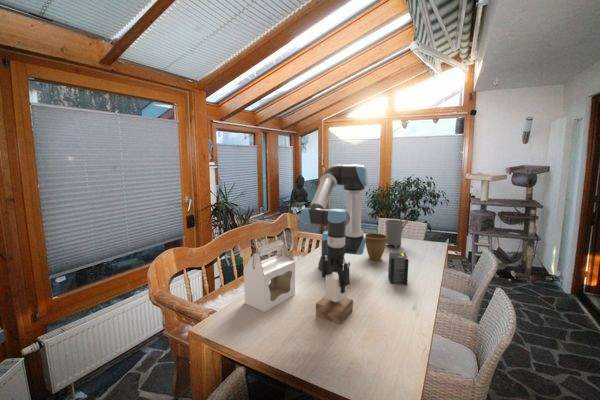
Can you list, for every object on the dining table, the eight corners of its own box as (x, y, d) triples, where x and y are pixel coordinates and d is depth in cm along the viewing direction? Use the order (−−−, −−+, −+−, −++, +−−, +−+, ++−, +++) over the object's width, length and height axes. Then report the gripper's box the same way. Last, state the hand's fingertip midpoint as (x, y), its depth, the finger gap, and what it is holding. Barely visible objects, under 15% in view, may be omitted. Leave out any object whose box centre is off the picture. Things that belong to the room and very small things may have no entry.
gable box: (264, 312, 127) (263, 251, 123) (244, 303, 135) (242, 245, 131) (295, 294, 145) (295, 240, 141) (276, 287, 153) (275, 235, 149)
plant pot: (390, 259, 195) (392, 236, 193) (376, 264, 187) (377, 240, 184) (373, 253, 207) (374, 231, 205) (359, 257, 199) (360, 234, 196)
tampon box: (407, 285, 156) (409, 259, 153) (389, 283, 157) (391, 258, 155) (404, 277, 166) (406, 252, 164) (387, 275, 168) (389, 251, 166)
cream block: (325, 297, 126) (325, 275, 124) (333, 293, 130) (334, 271, 128) (335, 302, 122) (336, 279, 120) (344, 297, 126) (345, 275, 124)
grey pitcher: (379, 246, 224) (381, 215, 220) (384, 241, 236) (386, 211, 232) (404, 250, 214) (406, 217, 210) (408, 245, 227) (410, 214, 223)
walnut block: (315, 316, 125) (316, 303, 124) (328, 304, 135) (328, 292, 134) (341, 325, 119) (341, 311, 118) (352, 312, 129) (352, 299, 128)
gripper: (313, 242, 127) (313, 292, 130) (349, 252, 113) (347, 307, 116) (325, 239, 132) (324, 286, 135) (360, 248, 118) (358, 301, 122)
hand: (334, 296), depth 126 cm, fingers closed on cream block, 6 cm apart
